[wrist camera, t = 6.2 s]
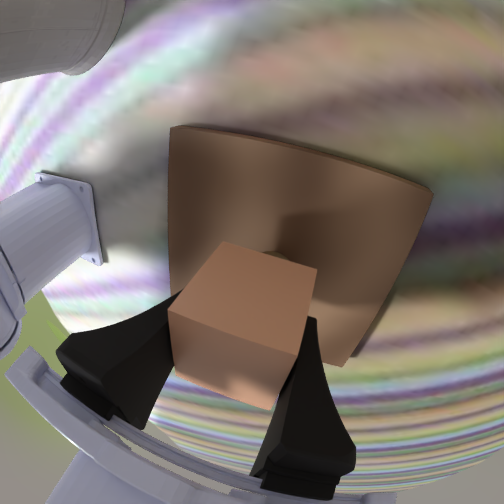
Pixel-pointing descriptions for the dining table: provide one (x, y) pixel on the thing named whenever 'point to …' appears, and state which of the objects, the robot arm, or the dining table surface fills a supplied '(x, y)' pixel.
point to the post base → (294, 221)
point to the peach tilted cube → (241, 323)
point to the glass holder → (55, 35)
